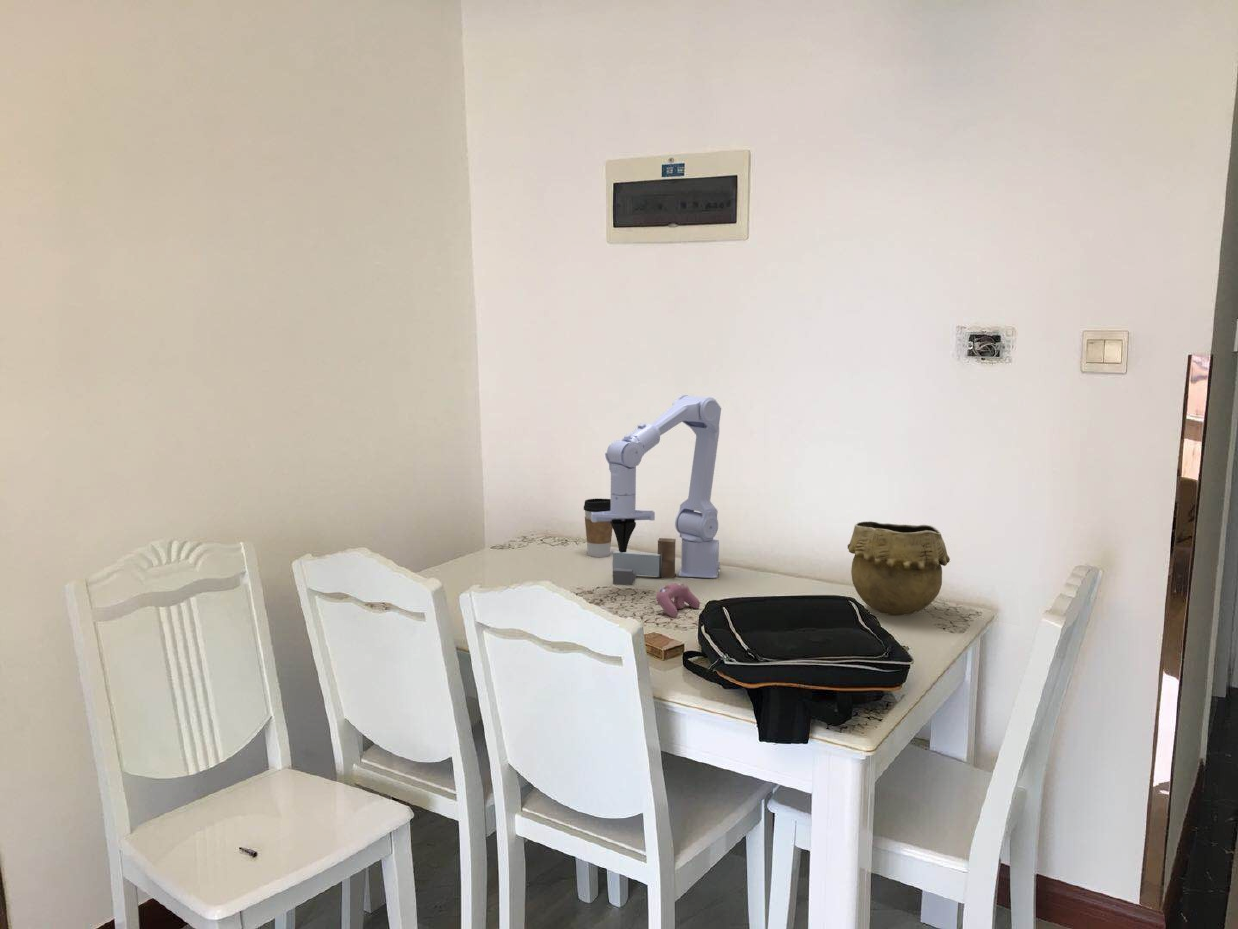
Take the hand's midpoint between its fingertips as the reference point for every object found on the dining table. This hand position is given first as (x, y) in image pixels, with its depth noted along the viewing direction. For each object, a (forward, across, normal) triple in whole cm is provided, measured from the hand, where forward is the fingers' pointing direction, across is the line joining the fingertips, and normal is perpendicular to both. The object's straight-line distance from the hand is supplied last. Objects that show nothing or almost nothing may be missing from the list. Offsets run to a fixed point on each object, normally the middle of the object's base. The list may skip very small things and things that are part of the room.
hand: (622, 551), depth 222 cm
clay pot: (+10, -55, +26) cm, 62 cm away
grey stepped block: (+10, -2, -9) cm, 13 cm away
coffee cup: (+10, -1, -36) cm, 37 cm away
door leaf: (+9, -6, -12) cm, 16 cm away
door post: (+9, -14, -12) cm, 20 cm away
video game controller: (+10, -9, +17) cm, 21 cm away
